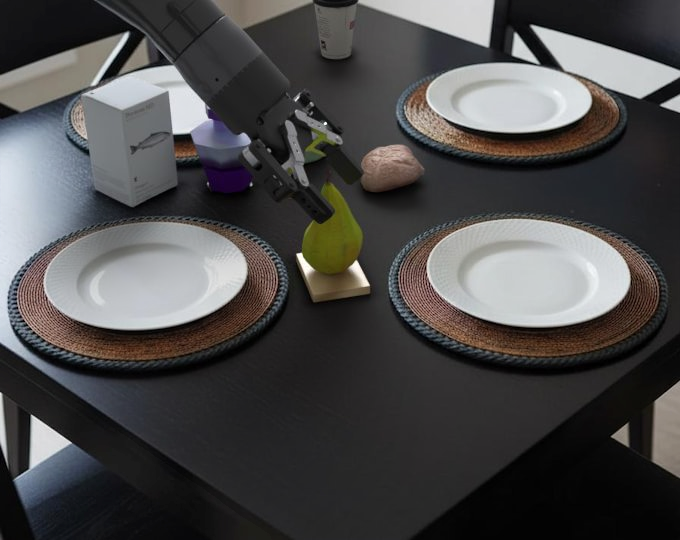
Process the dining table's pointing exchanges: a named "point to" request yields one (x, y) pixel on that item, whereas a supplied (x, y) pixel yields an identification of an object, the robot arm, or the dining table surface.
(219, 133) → the potion bottle
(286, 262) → the dining table surface
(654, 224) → the dining table surface
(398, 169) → the brown rounded lump
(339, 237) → the fruit
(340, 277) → the board
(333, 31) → the coffee cup
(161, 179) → the white packaging box
